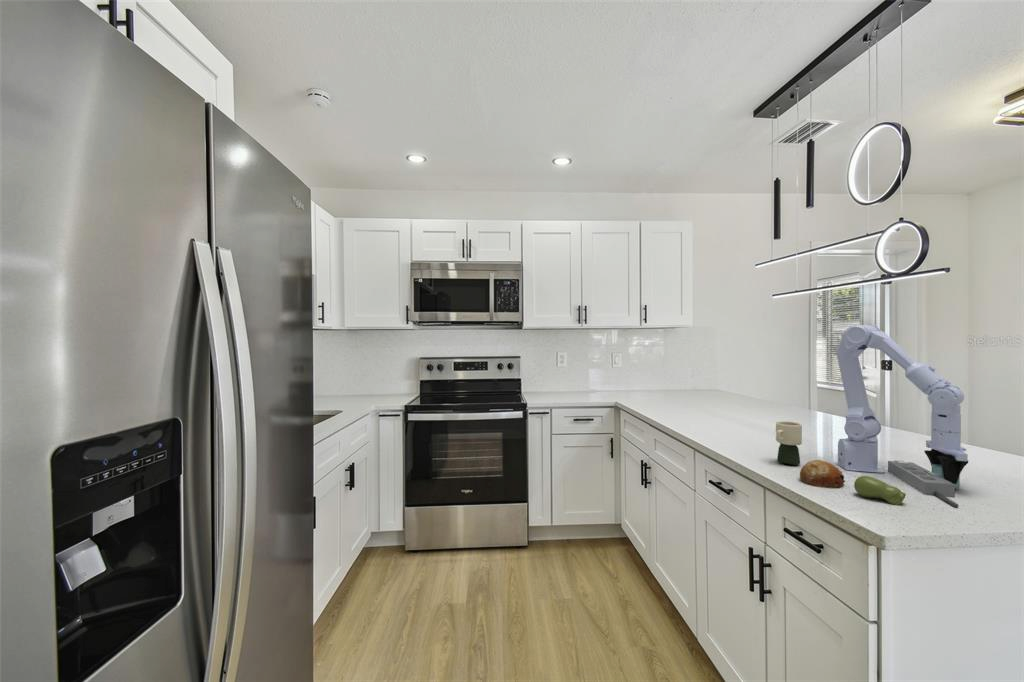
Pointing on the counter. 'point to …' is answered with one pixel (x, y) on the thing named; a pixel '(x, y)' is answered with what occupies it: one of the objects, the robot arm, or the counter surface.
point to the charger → (941, 473)
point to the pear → (878, 490)
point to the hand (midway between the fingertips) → (945, 480)
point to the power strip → (923, 480)
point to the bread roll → (821, 474)
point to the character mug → (788, 441)
